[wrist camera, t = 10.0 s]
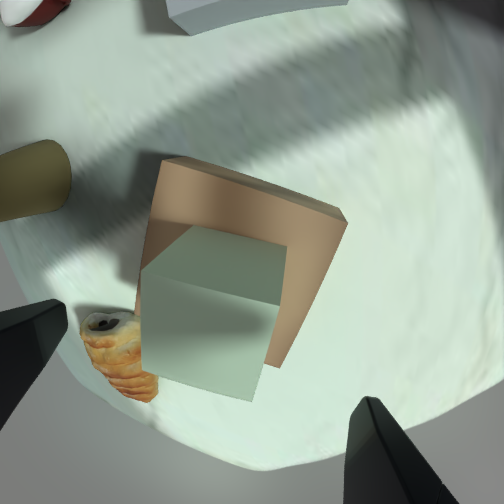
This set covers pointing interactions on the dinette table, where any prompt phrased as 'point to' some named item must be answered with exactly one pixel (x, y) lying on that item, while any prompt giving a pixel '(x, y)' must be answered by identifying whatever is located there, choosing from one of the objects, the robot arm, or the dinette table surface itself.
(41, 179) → the cork
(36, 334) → the robot arm
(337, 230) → the walnut block
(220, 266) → the green cube
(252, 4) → the grey block
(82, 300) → the dinette table surface
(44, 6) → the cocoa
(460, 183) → the dinette table surface
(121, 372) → the pastry
